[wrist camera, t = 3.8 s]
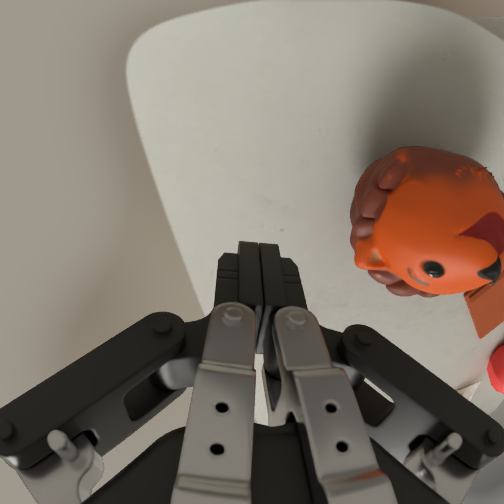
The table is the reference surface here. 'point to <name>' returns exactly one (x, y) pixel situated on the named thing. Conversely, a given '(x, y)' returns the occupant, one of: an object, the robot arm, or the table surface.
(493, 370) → the apple
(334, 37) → the table surface
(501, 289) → the book
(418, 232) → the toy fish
